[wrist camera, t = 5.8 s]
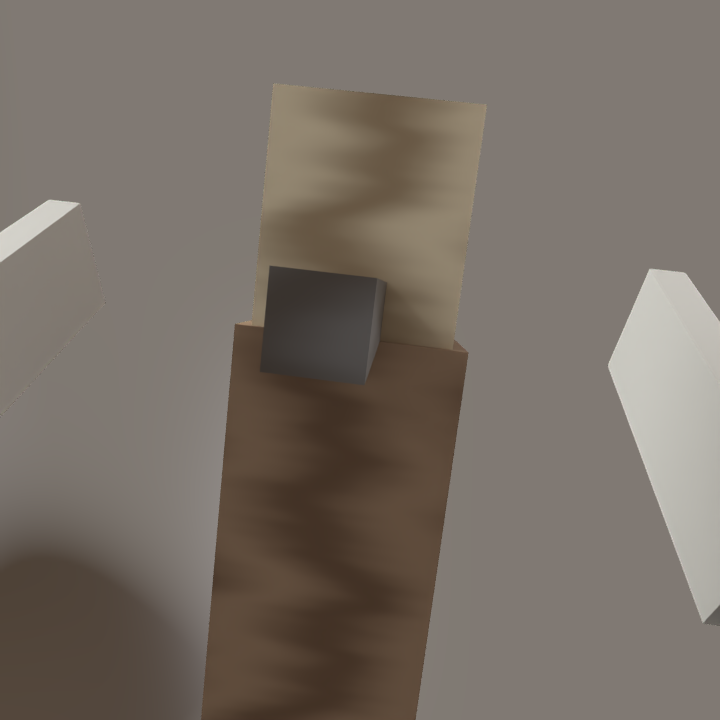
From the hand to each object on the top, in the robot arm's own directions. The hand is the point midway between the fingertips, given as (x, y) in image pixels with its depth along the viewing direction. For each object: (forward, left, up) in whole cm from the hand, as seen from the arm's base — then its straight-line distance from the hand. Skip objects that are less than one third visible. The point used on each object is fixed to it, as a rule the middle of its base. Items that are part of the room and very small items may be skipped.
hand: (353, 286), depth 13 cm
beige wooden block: (0, +4, -2) cm, 4 cm away
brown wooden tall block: (0, +8, -31) cm, 32 cm away
